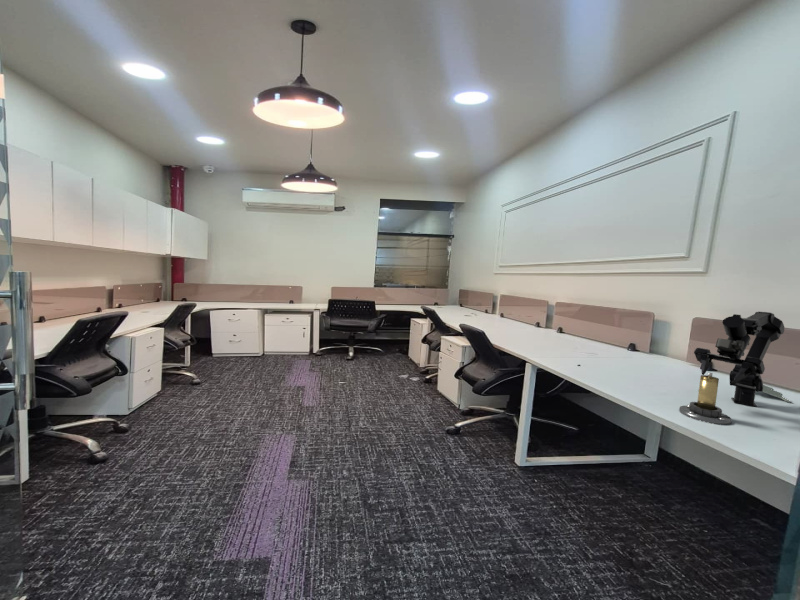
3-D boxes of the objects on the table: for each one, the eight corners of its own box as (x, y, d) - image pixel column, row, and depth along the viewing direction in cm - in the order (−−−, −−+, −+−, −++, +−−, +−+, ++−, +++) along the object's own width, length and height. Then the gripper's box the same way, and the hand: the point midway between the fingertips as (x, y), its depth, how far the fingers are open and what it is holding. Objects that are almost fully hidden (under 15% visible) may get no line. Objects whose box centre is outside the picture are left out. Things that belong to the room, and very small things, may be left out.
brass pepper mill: (693, 409, 127) (698, 370, 126) (708, 411, 126) (713, 372, 125) (701, 414, 123) (706, 374, 121) (717, 416, 122) (722, 375, 120)
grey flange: (677, 405, 134) (678, 396, 134) (727, 415, 126) (728, 405, 126) (680, 416, 123) (681, 406, 123) (735, 428, 115) (736, 418, 115)
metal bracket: (756, 385, 147) (741, 376, 161) (749, 397, 149) (734, 387, 162) (800, 401, 142) (781, 390, 155) (793, 413, 143) (774, 402, 157)
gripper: (699, 326, 136) (681, 357, 132) (766, 336, 120) (748, 370, 115) (706, 345, 140) (689, 375, 136) (771, 356, 124) (754, 391, 120)
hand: (718, 377), depth 127 cm, fingers open, 9 cm apart
